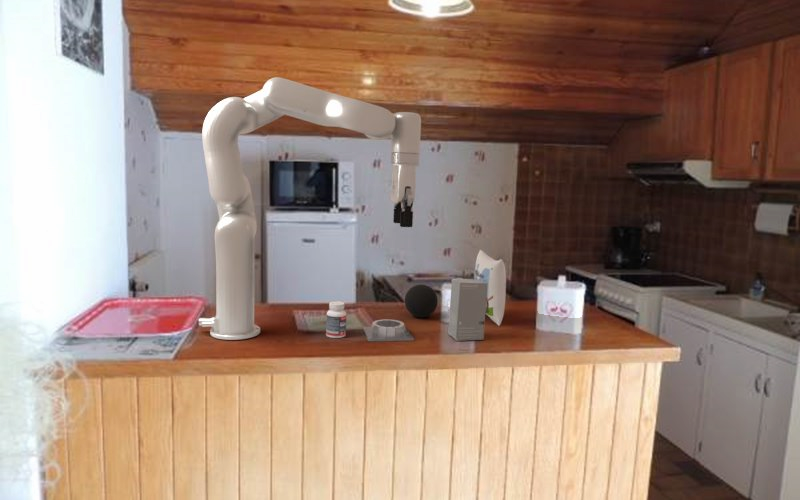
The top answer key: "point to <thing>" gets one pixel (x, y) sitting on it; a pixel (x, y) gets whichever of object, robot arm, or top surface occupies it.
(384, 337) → the plate
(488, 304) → the pouch
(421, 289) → the speaker
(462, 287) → the skincare box
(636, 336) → the top surface
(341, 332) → the pill bottle
